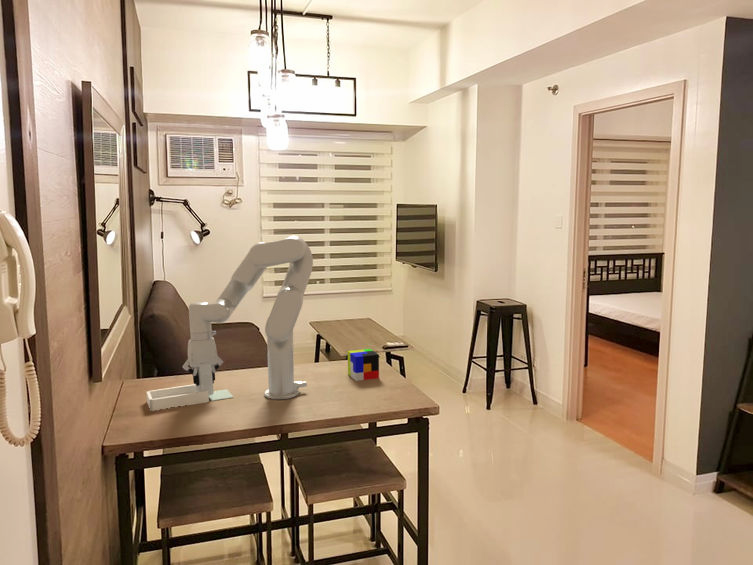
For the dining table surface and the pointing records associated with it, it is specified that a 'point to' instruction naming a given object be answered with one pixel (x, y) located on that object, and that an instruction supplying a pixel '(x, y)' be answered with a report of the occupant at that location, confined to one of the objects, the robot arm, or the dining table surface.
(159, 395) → the lane
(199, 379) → the skincare box
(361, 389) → the dining table surface
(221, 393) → the mat
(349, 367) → the puzzle toy
